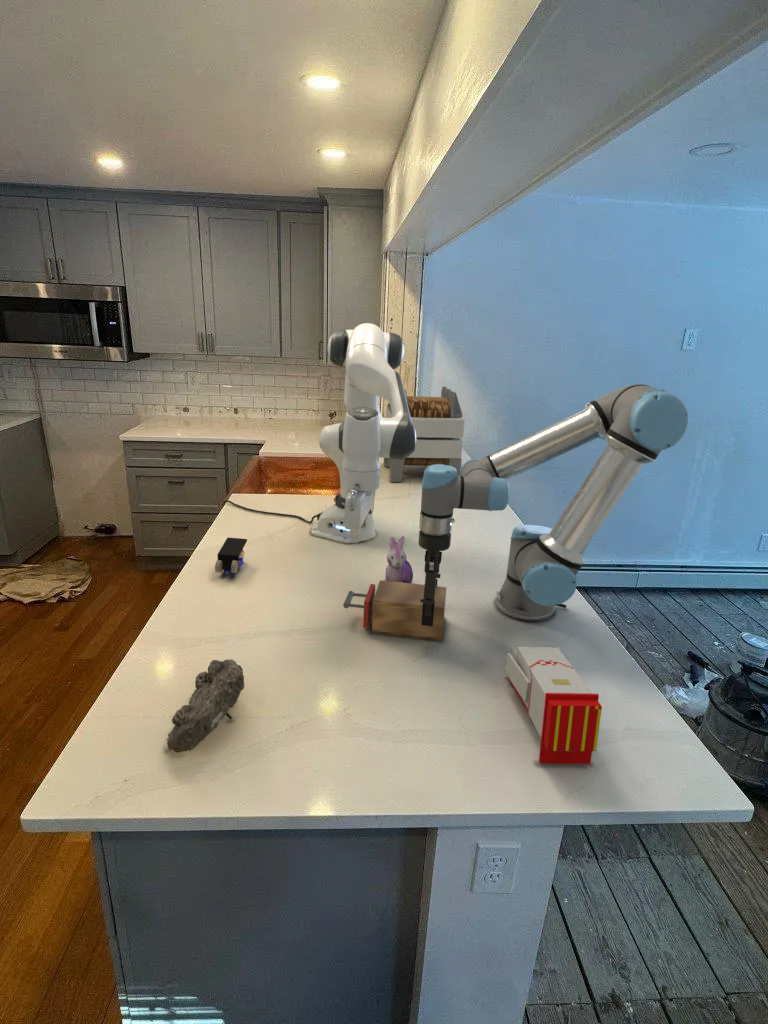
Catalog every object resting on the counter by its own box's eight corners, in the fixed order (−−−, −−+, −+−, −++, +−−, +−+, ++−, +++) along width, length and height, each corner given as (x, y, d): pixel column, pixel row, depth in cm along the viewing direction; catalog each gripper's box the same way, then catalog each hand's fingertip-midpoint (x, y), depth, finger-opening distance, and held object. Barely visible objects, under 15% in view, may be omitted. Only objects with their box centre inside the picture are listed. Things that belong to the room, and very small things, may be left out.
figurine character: (238, 584, 162) (249, 557, 175) (236, 562, 158) (247, 536, 172) (215, 584, 161) (227, 556, 175) (212, 561, 158) (225, 535, 171)
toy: (554, 629, 125) (611, 701, 96) (548, 684, 128) (602, 772, 98) (500, 628, 125) (540, 700, 95) (495, 684, 127) (533, 771, 98)
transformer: (382, 463, 289) (386, 382, 275) (445, 464, 293) (451, 384, 279) (390, 482, 257) (394, 392, 243) (460, 483, 261) (468, 394, 247)
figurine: (391, 596, 156) (394, 546, 151) (375, 580, 164) (377, 533, 159) (421, 590, 160) (424, 541, 155) (403, 575, 169) (406, 528, 163)
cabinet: (371, 633, 138) (373, 600, 135) (378, 611, 148) (380, 580, 145) (441, 641, 136) (444, 607, 133) (444, 618, 146) (446, 587, 143)
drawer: (341, 624, 140) (342, 599, 137) (349, 605, 149) (350, 581, 146) (427, 634, 137) (429, 608, 135) (430, 614, 146) (432, 590, 143)
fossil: (192, 660, 117) (244, 628, 112) (224, 691, 120) (276, 661, 115) (142, 746, 98) (202, 712, 93) (182, 779, 101) (242, 748, 96)
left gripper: (366, 493, 121) (364, 552, 126) (380, 469, 141) (378, 521, 145) (337, 491, 122) (336, 549, 127) (355, 467, 141) (354, 518, 146)
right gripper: (449, 551, 122) (441, 640, 129) (453, 515, 143) (446, 592, 151) (414, 548, 122) (408, 636, 130) (423, 512, 144) (418, 589, 152)
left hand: (359, 534), depth 136 cm, fingers open, 8 cm apart
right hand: (428, 613), depth 140 cm, fingers closed on cabinet, 11 cm apart
